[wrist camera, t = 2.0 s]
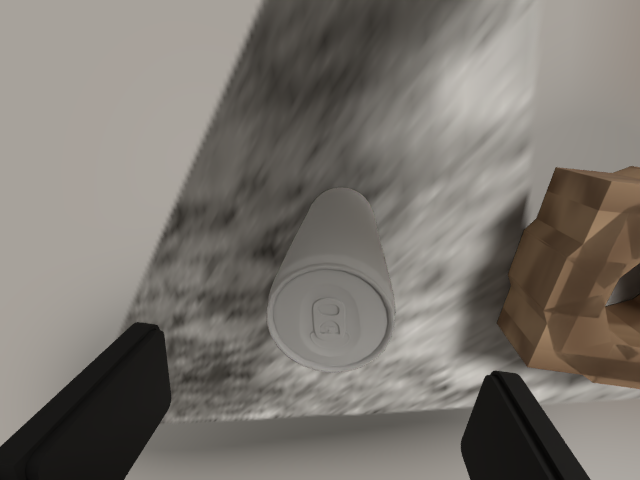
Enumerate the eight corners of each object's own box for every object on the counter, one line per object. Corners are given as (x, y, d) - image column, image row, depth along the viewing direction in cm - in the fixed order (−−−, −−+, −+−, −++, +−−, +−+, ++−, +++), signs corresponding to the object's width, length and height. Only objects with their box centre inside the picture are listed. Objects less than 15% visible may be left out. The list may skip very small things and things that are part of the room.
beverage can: (309, 249, 23) (269, 373, 12) (305, 186, 21) (254, 261, 10) (374, 249, 22) (395, 378, 11) (375, 184, 21) (402, 261, 10)
